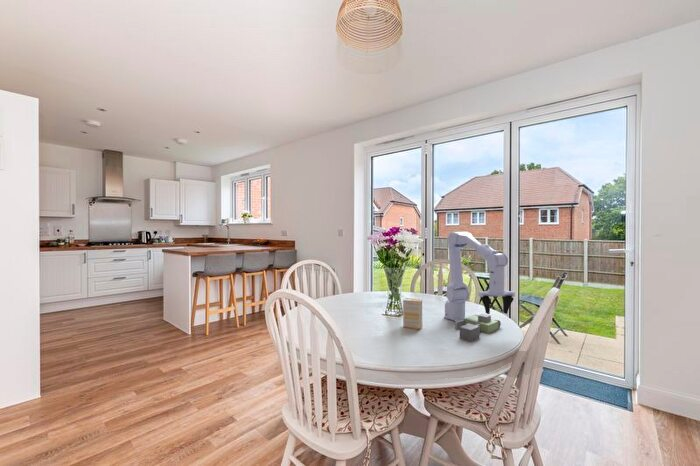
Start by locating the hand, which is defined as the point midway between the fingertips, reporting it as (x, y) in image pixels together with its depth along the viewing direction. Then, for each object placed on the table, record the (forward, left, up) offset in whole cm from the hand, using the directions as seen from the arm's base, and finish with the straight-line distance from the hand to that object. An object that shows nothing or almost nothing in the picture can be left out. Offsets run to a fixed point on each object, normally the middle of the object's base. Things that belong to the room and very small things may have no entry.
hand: (496, 313), depth 132 cm
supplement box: (-30, -19, -10) cm, 37 cm away
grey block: (-6, -11, -10) cm, 16 cm away
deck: (-10, +3, -10) cm, 14 cm away
